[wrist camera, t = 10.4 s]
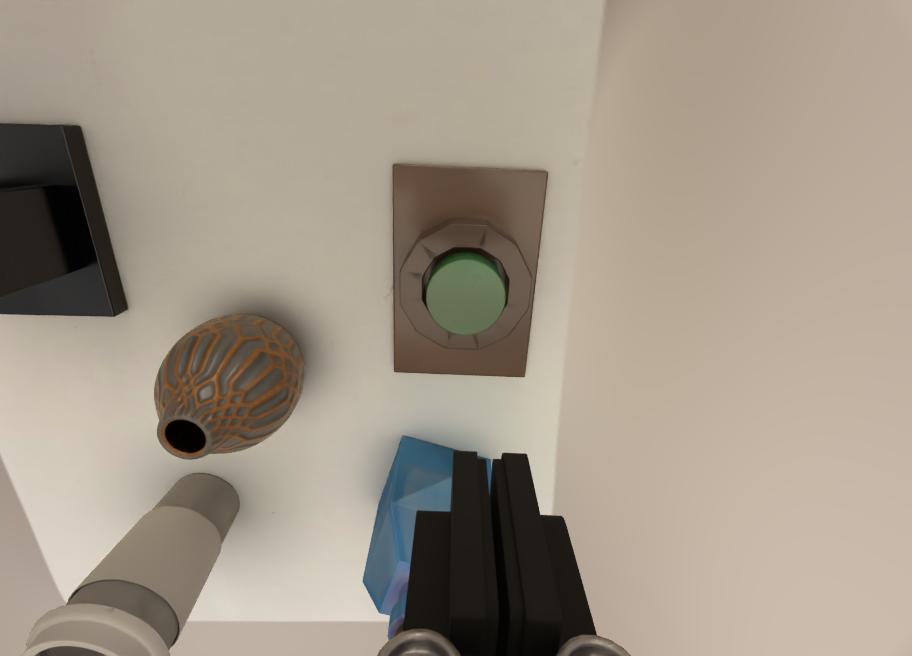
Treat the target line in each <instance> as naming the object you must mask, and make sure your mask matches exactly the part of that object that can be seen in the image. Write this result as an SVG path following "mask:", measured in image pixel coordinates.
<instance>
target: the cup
mask: <svg viewBox="0 0 912 656" xmlns="http://www.w3.org/2000/svg"><path fill="white" fill-rule="evenodd" d="M238 510H239V499H238V496H237V494H236V492H235V490H234V489H233V488H232V487H231V486H230V485H229V484H228V483H227V482H225V481H224V480H222V479H220V478H218V477H216V476H212V475H209V474H192V475H188V476H185V477H183V478H182V479H180V480H179V481H178V482H177V483H176V484H175V485H174V486H173V487H172V489H171V490H170V491H169V492H168V493H167V494H166V495H165V496H164V497H163V498H162V500H161V501H160V502H159V503H158V504H157V505H156V506H155V507H154V508H153V509H152V510H151V511H149V512H148V513H147V514H145V515H144V516H143V517H142V518H141V519H140V520H139V521H138V522H137V524H136V525H135V526H134V527H133V528H132V529H131V530H130V531H129V532H128V533H127V534H126V535H125V537H124V538H123V539H122V540H121V541H120V542H119V543H118V544H117V545H116V546H115V547H114V548H113V550H112V551H111V552H110V553H109V554H108V555H107V556H106V557H105V558H104V559H103V560H102V561H101V563H100V564H99V565H98V566H97V567H96V568H95V569H94V570H93V571H92V572H91V573H90V574H89V576H88V577H87V578H86V579H85V580H84V581H83V582H82V583H81V584H80V585H79V586H78V587H77V589H76V590H75V591H74V592H73V593H72V595H71V596H70V597H69V599H68V602H67V604H66V605H65V606H61V607H58V608H56V609H54V610H51V611H49V612H47V613H46V614H45V615H43V616H42V617H41V618H40V619H39V620H38V621H37V622H36V623H35V625H34V627H33V628H32V630H31V632H30V634H29V637H28V640H27V643H26V651H25V652H24V653H23V654H22V655H21V656H170V653H169V649H170V648H171V647H172V646H173V645H174V644H175V643H176V641H177V639H178V637H179V636H180V633H181V631H182V629H183V627H184V625H185V623H186V621H187V619H188V617H189V615H190V613H191V611H192V609H193V607H194V605H195V603H196V601H197V599H198V597H199V595H200V593H201V590H202V588H203V586H204V584H205V582H206V580H207V578H208V576H209V574H210V572H211V570H212V568H213V566H214V564H215V562H216V560H217V558H218V556H219V554H220V550H221V545H222V543H223V541H224V539H225V537H226V535H227V533H228V531H229V529H230V527H231V525H232V523H233V520H234V518H235V516H236V514H237V512H238Z"/></svg>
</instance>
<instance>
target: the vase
mask: <svg viewBox="0 0 912 656" xmlns="http://www.w3.org/2000/svg"><path fill="white" fill-rule="evenodd" d="M303 383H304V363H303V359H302V355H301V352H300V350H299V348H298V346H297V344H296V342H295V341H294V340H293V338H292V337H291V336H290V335H289V334H288V333H287V332H286V331H285V330H284V329H283V328H281V327H280V326H279V325H277V324H276V323H274V322H272V321H270V320H268V319H265V318H262V317H258V316H253V315H245V314H237V315H228V316H222V317H219V318H215V319H212V320H209V321H207V322H205V323H203V324H201V325H199V326H197V327H196V328H194V329H193V330H191V331H190V332H188V333H187V334H186V335H184V336H183V337H182V338H181V339H180V340H179V341H178V342H177V343H176V344H175V345H174V346H173V347H172V348H171V350H170V351H169V352H168V354H167V356H166V357H165V359H164V361H163V363H162V364H161V367H160V369H159V371H158V374H157V377H156V382H155V387H154V400H155V406H156V410H157V414H158V417H159V423H158V428H157V436H158V439H159V442H160V443H161V445H162V446H163V447H164V448H165V449H166V450H167V451H168V452H169V453H171V454H172V455H174V456H176V457H179V458H183V459H198V458H201V457H204V456H206V455H208V454H220V453H232V452H237V451H241V450H244V449H247V448H250V447H252V446H254V445H256V444H258V443H260V442H262V441H263V440H265V439H266V438H268V437H269V436H271V435H272V434H273V433H274V432H276V431H277V430H278V429H279V428H280V427H281V426H282V425H283V424H284V423H285V422H286V421H287V419H288V418H289V416H290V415H291V414H292V412H293V410H294V408H295V407H296V405H297V403H298V400H299V398H300V395H301V393H302V389H303Z"/></svg>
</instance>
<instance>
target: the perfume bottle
mask: <svg viewBox="0 0 912 656" xmlns="http://www.w3.org/2000/svg"><path fill="white" fill-rule="evenodd" d="M453 451H457V450H454V449H450V448H446V447H443V446H439V445H436V444H432V443H428V442H425V441H421V440H418V439H414V438H410V437H407V436H402V439H401V442H400V445H399V448H398V451H397V453H396V456H395V459H394V462H393V465H392V468H391V470H390V473H389V476H388V479H387V482H386V485H385V488H384V490H383V493H382V496H381V499H380V502H379V505H378V510H377V514H376V519H375V524H374V529H373V534H372V538H371V543H370V548H369V553H368V558H367V562H366V567H365V572H364V577H363V583H364V585H365V587H366V589H367V591H368V593H369V595H370V596H371V598H372V600H373V602H374V604H375V606H376V608H377V610H378V612H379V613H381V614H386V615H390V621H389V629H388V639H389V640H390V639H392V638H393V637H395V636H396V635H398V634H399V633H401V632H403V624H404V616H405V607H406V598H407V589H408V581H409V572H410V563H411V554H412V546H413V537H414V528H415V519H416V512H417V510H424V511H450V505H451V486H452V466H453ZM477 458H480V459H486V458H482V457H479V456H477ZM486 462H487V474H488V486H489V495H490V484H491V473H492V469H491V460H490V459H486Z"/></svg>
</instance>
